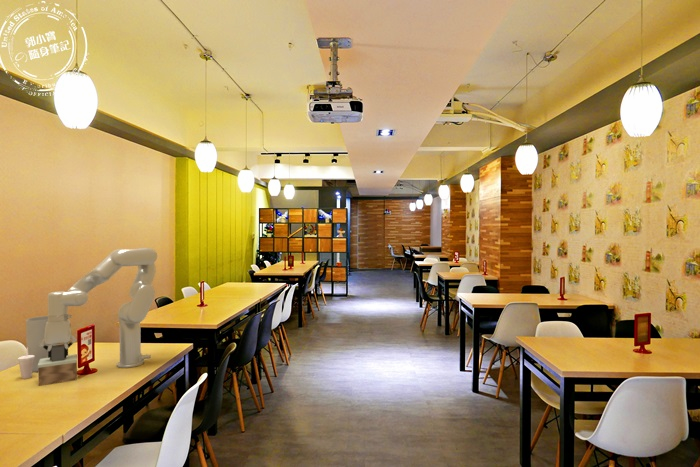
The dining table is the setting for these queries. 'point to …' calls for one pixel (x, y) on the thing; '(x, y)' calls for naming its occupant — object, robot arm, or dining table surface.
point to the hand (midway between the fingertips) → (58, 357)
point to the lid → (57, 357)
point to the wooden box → (57, 373)
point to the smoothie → (26, 365)
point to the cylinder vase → (36, 339)
